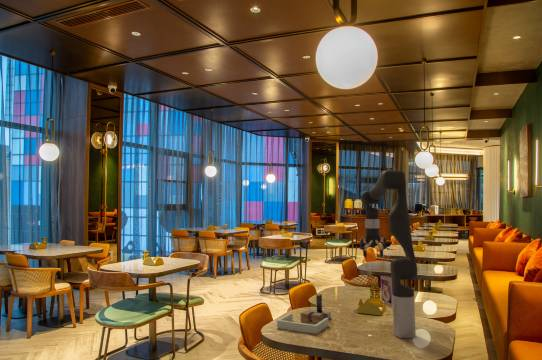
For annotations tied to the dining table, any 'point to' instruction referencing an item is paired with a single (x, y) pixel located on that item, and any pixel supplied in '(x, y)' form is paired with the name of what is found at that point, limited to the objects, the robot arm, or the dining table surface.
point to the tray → (300, 325)
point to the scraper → (320, 308)
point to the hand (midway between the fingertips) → (373, 257)
